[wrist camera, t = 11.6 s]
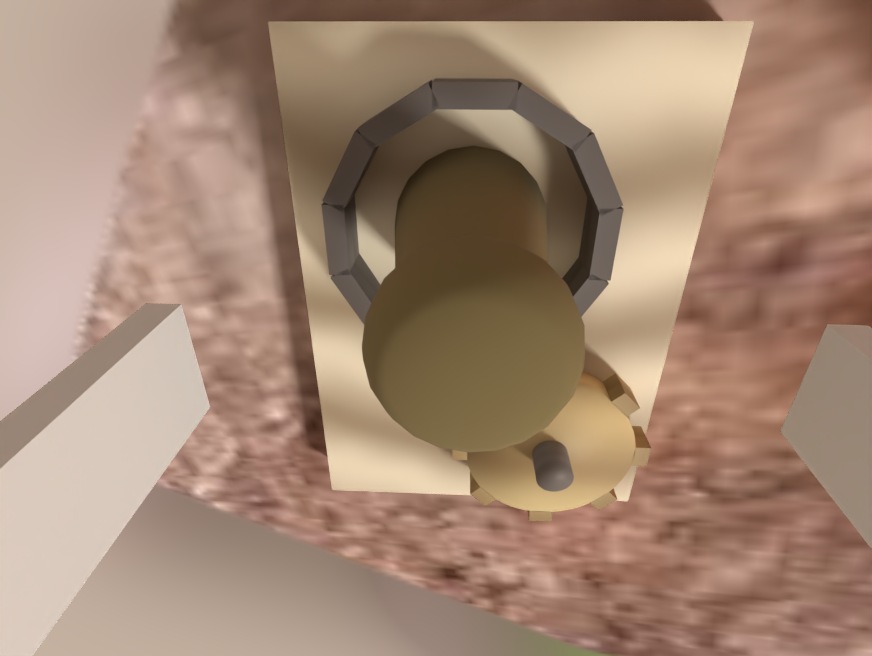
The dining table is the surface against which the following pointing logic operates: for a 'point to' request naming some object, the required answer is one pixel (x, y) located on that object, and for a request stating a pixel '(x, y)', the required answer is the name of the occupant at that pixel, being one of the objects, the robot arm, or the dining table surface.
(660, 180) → the gear board
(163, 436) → the robot arm
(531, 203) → the cork
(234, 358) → the dining table surface
